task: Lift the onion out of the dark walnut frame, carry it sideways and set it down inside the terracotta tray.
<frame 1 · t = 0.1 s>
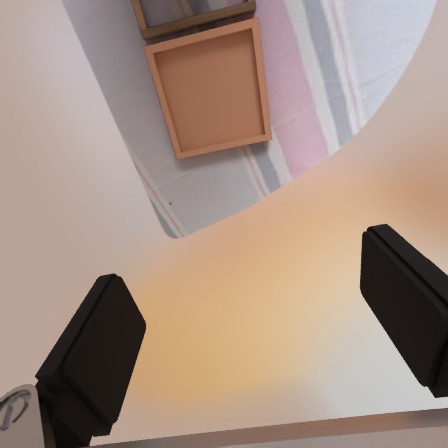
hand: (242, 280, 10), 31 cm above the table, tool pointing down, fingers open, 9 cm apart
terracotta tray: (213, 95, 35), on the table
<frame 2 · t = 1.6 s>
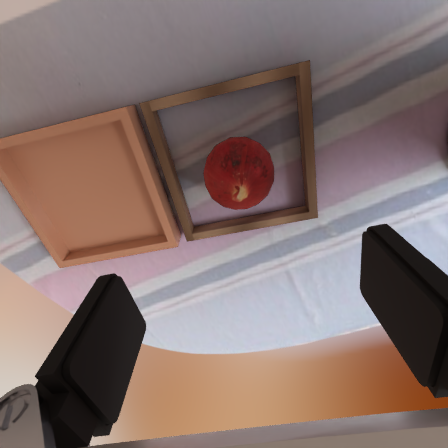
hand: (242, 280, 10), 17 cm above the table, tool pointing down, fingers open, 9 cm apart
onion: (237, 161, 25), resting in walnut frame
terracotta tray: (97, 191, 26), on the table
walnut frame: (237, 161, 25), on the table
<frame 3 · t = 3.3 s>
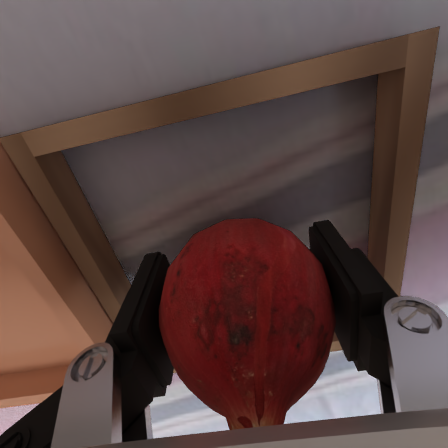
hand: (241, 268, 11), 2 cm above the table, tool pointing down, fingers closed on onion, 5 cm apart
onion: (238, 242, 12), resting in walnut frame, touching gripper
walnut frame: (239, 244, 12), on the table
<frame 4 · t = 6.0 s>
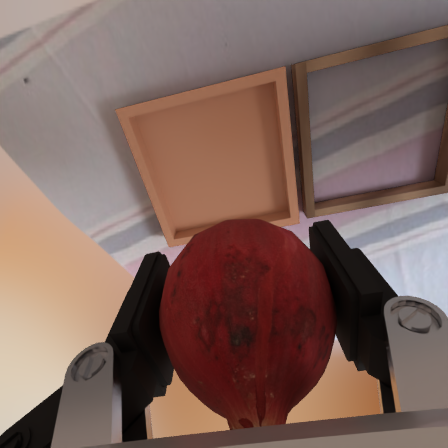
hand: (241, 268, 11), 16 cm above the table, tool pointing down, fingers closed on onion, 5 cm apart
onion: (239, 242, 12), point 14 cm above the table, touching gripper
terracotta tray: (217, 165, 25), on the table
walnut frame: (373, 131, 23), on the table
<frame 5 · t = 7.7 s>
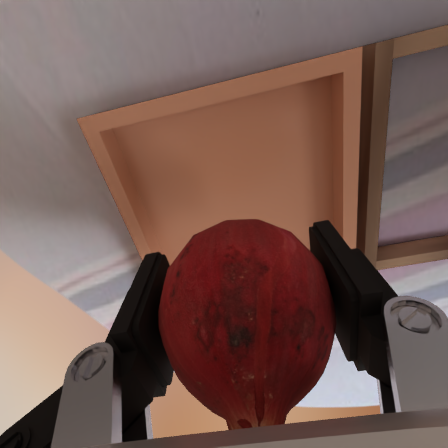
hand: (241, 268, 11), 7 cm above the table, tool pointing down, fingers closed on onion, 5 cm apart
onion: (238, 242, 12), point 5 cm above the table, touching gripper
terracotta tray: (237, 198, 17), on the table
when the fingers open (4 cm above the table, at t = 8.8 s): onion drops 1 cm, resting on terracotta tray.
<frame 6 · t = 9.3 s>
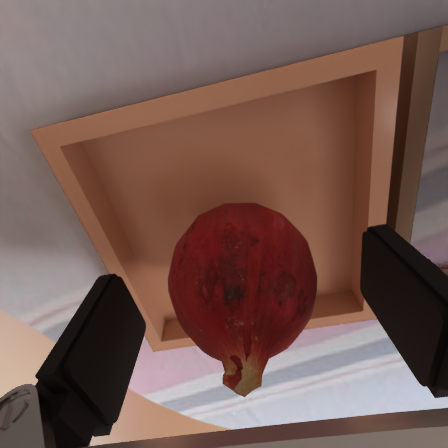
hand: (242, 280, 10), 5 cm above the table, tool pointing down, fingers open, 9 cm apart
onion: (239, 225, 14), resting on terracotta tray
terracotta tray: (236, 221, 14), on the table
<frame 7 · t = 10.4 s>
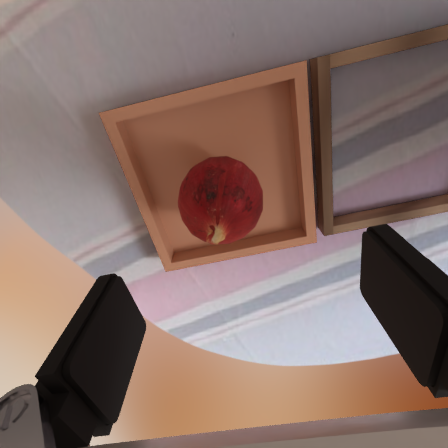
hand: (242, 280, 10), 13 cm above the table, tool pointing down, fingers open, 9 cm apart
onion: (223, 178, 21), point 1 cm above the table, touching terracotta tray
terracotta tray: (221, 177, 21), on the table
walnut frame: (401, 137, 20), on the table
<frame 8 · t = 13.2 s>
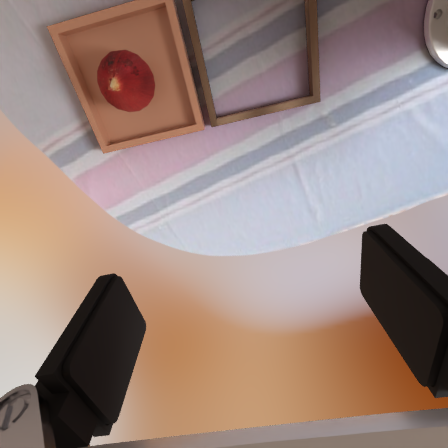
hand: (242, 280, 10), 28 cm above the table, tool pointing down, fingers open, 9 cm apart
onion: (137, 82, 31), resting on terracotta tray
terracotta tray: (137, 82, 32), on the table
walnut frame: (254, 51, 30), on the table
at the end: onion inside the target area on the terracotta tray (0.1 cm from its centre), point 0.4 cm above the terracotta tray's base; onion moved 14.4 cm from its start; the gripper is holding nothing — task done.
